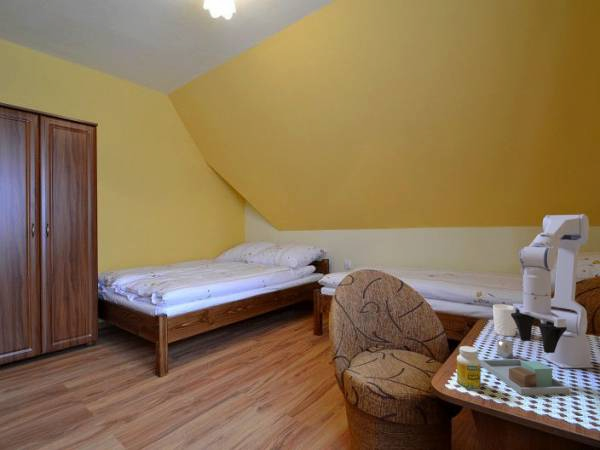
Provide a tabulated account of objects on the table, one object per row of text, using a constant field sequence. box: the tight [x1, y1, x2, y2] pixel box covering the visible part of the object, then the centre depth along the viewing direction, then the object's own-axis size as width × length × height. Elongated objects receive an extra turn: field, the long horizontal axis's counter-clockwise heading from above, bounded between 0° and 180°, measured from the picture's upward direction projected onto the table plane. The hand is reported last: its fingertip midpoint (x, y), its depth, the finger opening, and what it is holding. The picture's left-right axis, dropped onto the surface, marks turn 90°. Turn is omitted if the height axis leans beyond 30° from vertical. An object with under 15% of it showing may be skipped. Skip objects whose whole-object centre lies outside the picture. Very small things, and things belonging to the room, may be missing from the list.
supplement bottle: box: [456, 345, 482, 391], centre depth 79 cm, size 5×5×10 cm
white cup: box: [492, 303, 518, 337], centre depth 118 cm, size 8×8×10 cm
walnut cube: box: [509, 366, 536, 388], centre depth 78 cm, size 4×4×4 cm
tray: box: [479, 358, 570, 396], centre depth 83 cm, size 12×16×2 cm
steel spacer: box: [496, 338, 514, 359], centre depth 96 cm, size 4×4×5 cm
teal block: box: [521, 360, 553, 387], centre depth 80 cm, size 4×4×4 cm
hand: (536, 346), depth 80 cm, fingers open, 7 cm apart
